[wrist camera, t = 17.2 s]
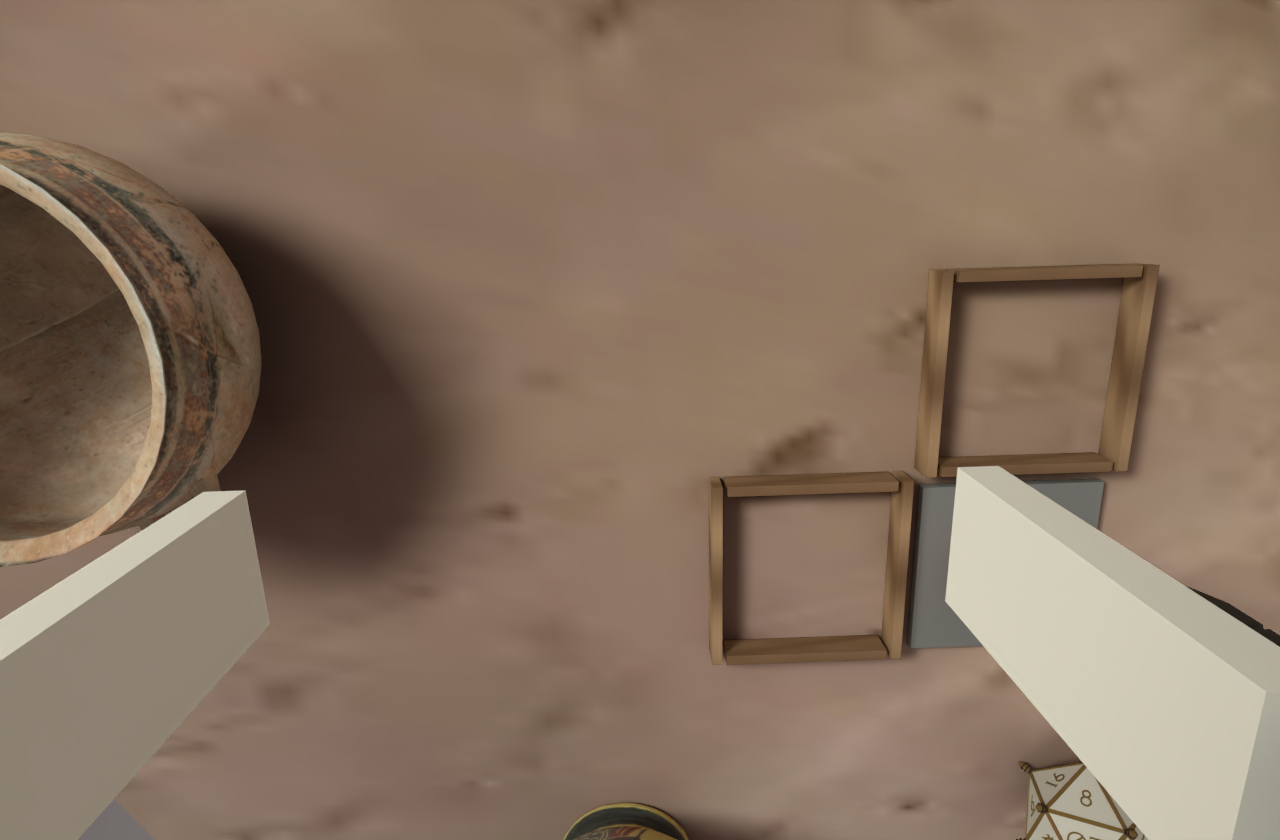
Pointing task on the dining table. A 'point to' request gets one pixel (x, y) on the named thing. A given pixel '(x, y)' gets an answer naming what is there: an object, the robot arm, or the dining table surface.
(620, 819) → the amphora
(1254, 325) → the dining table surface
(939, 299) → the empty crate
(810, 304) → the dining table surface
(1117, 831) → the game die
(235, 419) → the cooking pot
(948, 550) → the slate board
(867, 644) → the frame
